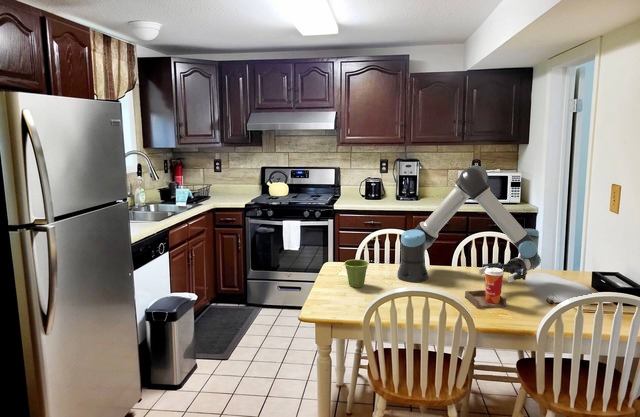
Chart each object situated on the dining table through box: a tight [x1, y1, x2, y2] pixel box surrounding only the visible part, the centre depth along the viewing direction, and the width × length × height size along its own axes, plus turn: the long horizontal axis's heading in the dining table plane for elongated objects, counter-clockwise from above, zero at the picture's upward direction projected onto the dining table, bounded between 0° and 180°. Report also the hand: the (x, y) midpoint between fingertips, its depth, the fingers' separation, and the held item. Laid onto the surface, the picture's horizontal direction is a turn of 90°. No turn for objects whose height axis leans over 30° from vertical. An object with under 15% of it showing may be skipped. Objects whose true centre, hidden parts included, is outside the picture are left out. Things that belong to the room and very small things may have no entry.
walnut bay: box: [464, 289, 507, 309], centre depth 197 cm, size 13×13×3 cm
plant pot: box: [343, 259, 370, 288], centre depth 221 cm, size 12×12×11 cm
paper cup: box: [484, 268, 505, 304], centre depth 194 cm, size 8×8×14 cm
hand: (493, 275), depth 199 cm, fingers open, 13 cm apart
